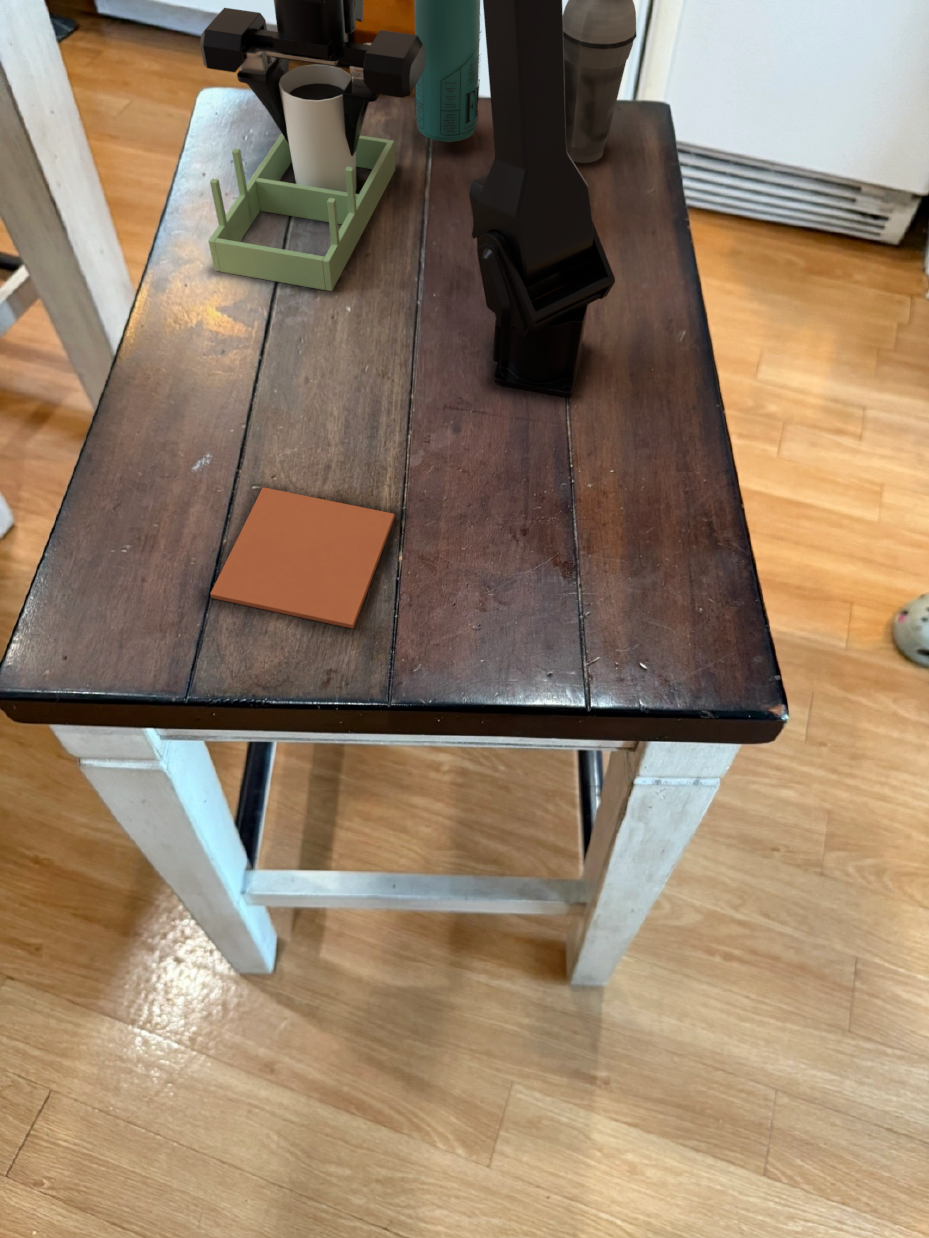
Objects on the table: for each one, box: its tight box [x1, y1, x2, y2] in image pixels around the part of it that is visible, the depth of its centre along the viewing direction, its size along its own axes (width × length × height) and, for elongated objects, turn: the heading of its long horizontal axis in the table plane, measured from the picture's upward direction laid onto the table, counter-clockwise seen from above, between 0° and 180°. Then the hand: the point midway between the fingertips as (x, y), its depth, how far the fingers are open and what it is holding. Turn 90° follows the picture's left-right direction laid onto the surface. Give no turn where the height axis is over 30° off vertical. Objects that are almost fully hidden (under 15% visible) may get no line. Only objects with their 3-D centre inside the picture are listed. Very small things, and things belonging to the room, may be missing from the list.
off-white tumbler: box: [279, 63, 357, 193], centre depth 86 cm, size 7×7×10 cm
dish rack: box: [208, 132, 396, 292], centre depth 85 cm, size 11×20×7 cm, turn 167°
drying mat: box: [210, 487, 396, 630], centre depth 64 cm, size 10×10×1 cm
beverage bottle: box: [413, 0, 483, 143], centre depth 88 cm, size 6×7×20 cm
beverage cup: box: [563, 0, 637, 164], centre depth 87 cm, size 7×7×20 cm
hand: (323, 149), depth 87 cm, fingers closed on off-white tumbler, 5 cm apart
